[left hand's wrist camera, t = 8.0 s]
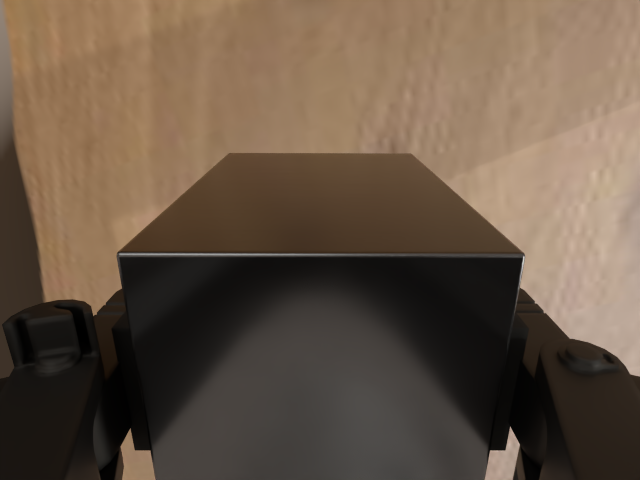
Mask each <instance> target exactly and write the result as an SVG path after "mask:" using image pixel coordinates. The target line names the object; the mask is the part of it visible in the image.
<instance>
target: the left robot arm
mask: <svg viewBox="0 0 640 480" xmlns="http://www.w3.org/2000/svg"><path fill="white" fill-rule="evenodd" d="M2 326H3V329H4V333H5V336H6V340H7V343H8V346H9V350H10V353H11V356H12V360H13V363H14V369H13V371H12V373H11V374H10V376H9V377H6V378H2V379H0V480H122V475H123V468H124V465H123V457H122V452H121V447H120V446H121V444H122V443H123V441H124V439H125V437H126V435H127V433H128V431H129V429H130V428H131V433H132V438H133V443H134V448H135V450H150V445H149V439H148V433H147V427H146V422H145V416H144V410H143V404H142V399H141V393H140V387H139V382H138V376H137V370H136V364H135V359H134V353H133V347H132V341H131V336H130V330H129V324H128V318H127V313H126V307H125V301H124V296H123V290H122V289H121V290H119V291H117V292H116V293H115V294H114V295H113V296H112V297H111V298H110V299H109V300H108V301H107V302H106V305H104V306H103V307H102V308H101V309H100V310H99V311H98V312H97V315H94V316H93V313H92V309H91V306H90V305H89V304H87V303H86V302H84V301H78V300H56V301H51V302H46V303H41V304H38V305H35V306H32V307H29V308H27V309H24V310H22V311H20V312H18V313H17V314H15V315H13V316H11V317H10V318H9V319H8V320H7V321H6V322H4V323H3V324H2ZM510 427H511V428H512V430H513V432H514V434H515V436H516V438H517V440H518V441H519V443H520V447H519V452H518V457H517V462H516V467H515V471H514V476H513V480H640V377H639V376H634V375H630V374H629V372H628V370H627V368H626V367H625V365H624V364H623V363H622V362H621V361H620V360H619V359H618V358H617V357H616V356H614V355H613V354H611V353H610V352H608V351H607V350H605V349H603V348H601V347H598V346H596V345H593V344H591V343H588V342H583V341H579V340H575V339H569V338H568V336H567V335H566V334H565V333H564V332H563V331H562V330H561V329H560V328H559V327H558V326H557V325H556V324H555V323H554V322H553V320H552V319H551V318H550V317H549V316H548V315H547V314H546V313H544V311H543V310H542V309H541V308H540V307H539V306H538V304H535V301H534V300H533V299H532V298H531V297H530V296H529V295H528V294H527V293H526V292H525V291H524V290H523V289H521V288H519V293H518V299H517V304H516V310H515V315H514V321H513V326H512V332H511V337H510V343H509V348H508V354H507V359H506V365H505V370H504V376H503V381H502V387H501V392H500V398H499V403H498V409H497V414H496V420H495V425H494V431H493V436H492V442H491V447H490V450H506V444H507V439H508V434H509V429H510Z"/></svg>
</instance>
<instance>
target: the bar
mask: <svg viewBox="0 0 640 480" xmlns="http://www.w3.org/2000/svg"><path fill="white" fill-rule="evenodd" d="M524 260H525V255H524V253H523V252H522V251H521V250H520V249H519V248H518V247H516V246H515V245H514V244H513V243H512V242H511V241H510V240H509V239H507V238H506V237H505V236H504V235H503V234H502V233H501V232H500V231H498V230H497V229H496V228H495V227H494V226H493V225H492V224H490V223H489V222H488V221H487V220H486V219H485V218H484V217H483V216H481V215H480V214H479V213H478V212H477V211H476V210H475V209H473V208H472V207H471V206H470V205H469V204H468V203H467V202H466V201H464V200H463V199H462V198H461V197H460V196H459V195H458V194H457V193H455V192H454V191H453V190H452V189H451V188H450V187H449V186H447V185H446V184H445V183H444V182H443V181H442V180H441V179H440V178H438V177H437V176H436V175H435V174H434V173H433V172H432V171H430V170H429V169H428V168H427V167H426V166H425V165H424V164H423V163H421V162H420V161H419V160H418V159H417V158H416V157H415V156H413V155H412V154H353V153H229V154H228V155H226V156H225V157H224V158H223V159H222V160H221V161H220V162H219V163H217V164H216V165H215V166H214V167H213V168H212V169H211V170H210V171H208V172H207V173H206V174H205V175H204V176H203V177H202V178H201V179H199V180H198V181H197V182H196V183H195V184H194V185H193V186H192V187H190V188H189V189H188V190H187V191H186V192H185V193H184V194H183V195H181V196H180V197H179V198H178V199H177V200H176V201H175V202H174V203H172V204H171V205H170V206H169V207H168V208H167V209H166V210H165V211H164V212H162V213H161V214H160V215H159V216H158V217H157V218H156V219H155V220H153V221H152V222H151V223H150V224H149V225H148V226H147V227H146V228H144V229H143V230H142V231H141V232H140V233H139V234H138V235H137V236H135V237H134V238H133V239H132V240H131V241H130V242H129V243H128V244H126V245H125V246H124V247H123V248H122V249H121V250H120V251H119V252H118V253H117V261H118V267H119V273H120V278H121V284H122V290H123V296H124V301H125V307H126V313H127V318H128V324H129V330H130V336H131V341H132V347H133V353H134V359H135V364H136V370H137V376H138V382H139V387H140V393H141V399H142V404H143V410H144V416H145V422H146V427H147V433H148V439H149V445H150V450H151V456H152V462H153V467H154V473H155V479H156V480H485V475H486V469H487V464H488V458H489V453H490V447H491V442H492V436H493V431H494V425H495V420H496V414H497V409H498V403H499V398H500V392H501V387H502V381H503V376H504V370H505V365H506V359H507V354H508V348H509V343H510V337H511V332H512V326H513V321H514V315H515V310H516V304H517V299H518V293H519V288H520V282H521V277H522V271H523V266H524Z"/></svg>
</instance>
